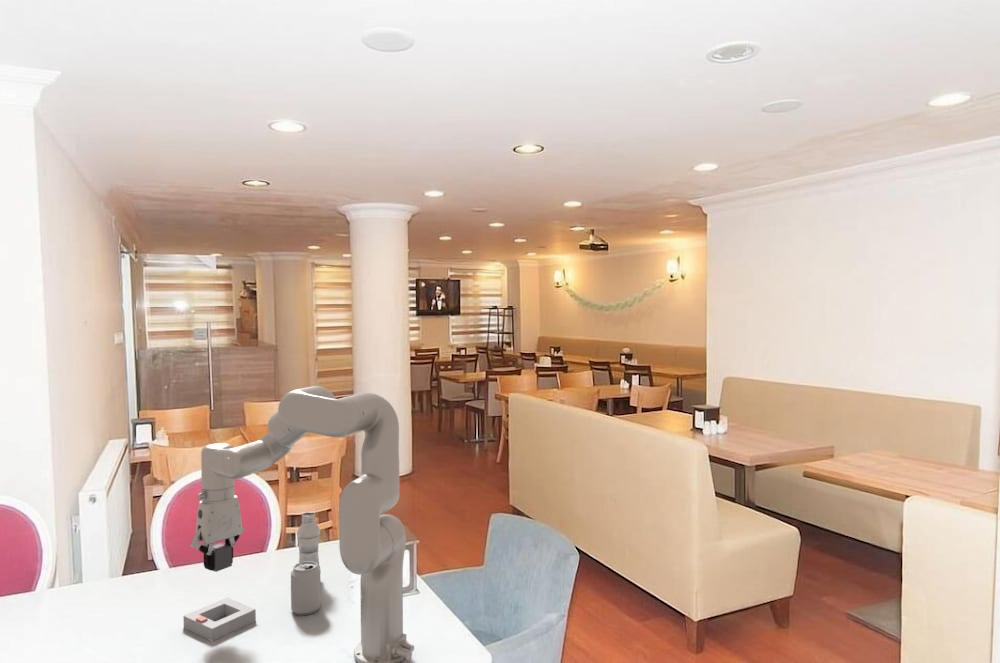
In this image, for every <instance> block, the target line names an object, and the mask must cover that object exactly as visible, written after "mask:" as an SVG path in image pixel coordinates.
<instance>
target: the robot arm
mask: <svg viewBox="0 0 1000 663" xmlns="http://www.w3.org/2000/svg"><path fill="white" fill-rule="evenodd" d="M277 409H278V410H277V411H276V413H274V414H273V415H272V416H270V418H269V419H268V422H267V429H268V432H267V433H266V434H264V435H263V436H261V437H260V438H259V439H258V440H255V441H253V442H249V443H245V444H241V445H239V446H235V447H234V446H233V445H232V444H231V443H227V442H219V443H215V442H214V443H209V444H206V445H205V446H203V448H202V449H201V455H200V456H201V458H200V459H201V460H200V461H201V465H200V466H201V489H200V493H198V494H197V495H196V498H197V499H198V500H200V501H199V503H198V507H197V513H196V521H195V522H196V524H195V535H194V537H193V539H192V540H191V543H190V544H189V545H190V547H192V548H193V549H196V550H198V551H199V552H200V553H202V554H203V567H204V569H206V570H208V571H212V570H214V554H212V550H213V545H215V544H216V543H219V542H222V541H224V544H226V545H229V546H232V564H233V563H234V561H233V559H234V548H235V547H236V543H237V541H238V540H239V538H240V536H241V535H242V534H243V533H244V532H245V530H246V529H245V527H244V526H243V525H242V524H243V523H242V522H243V520H242V512H241V506H240V500H239V498H238V497H239V496H238V495H236V494H235V480H239V479H243V478H245V477H247V476H251V475H253V474H256V473H258V472H261V471H264V470H266V469H269V468H270V467H272V466H273V465H274V464H276V463H277V462H278V461H280V460H281V459H282V458H284V457H285V456H286V455H287V454H288V453H289V452H291V451H292V449H293V447H294V446H295V444H296V443H297V442H299V441H300V440H301V439H303V438H304V437H305V436H306V435H307V434H309V433H311V434H315V435H321V436H325V437H330V438H341V439H342V438H346V437H350V436H351V435H352V436H353V435H355V434H358V433H361V432H364V439H363V441H362V442H363V443H362V447H361V451H360V456H361V458H360V459H361V463H360V464H361V466H360V467H361V468H360V476H359V477H357V478H356V479H355V478H354V480H352V481H350V482H349V483H348V484H347V485H346V486H345V487H344V488H343V490H342V492H341V494H340V496H339V497H340V498H339V503H338V528H339V529H338V535H339V537H338V538H339V544H338V545H339V547H338V548H339V554H340V558H341V561H342V564H343V565H344V566H345V568H346V569H347V570H348V571H349V572H351V573H352V574H355V575H360V642H358V644H356V646H355V648H354V650H353V657H354V660H355V661H356V662H357V663H401V662H403V661H404V660H406V661H407V660H408V661H409V660H410V659H411V658H412V655H413V652H414V650H415V645H414V644H411V643H409V641H408V640H407V634H406V633H404V622H403V621H404V618H403V617H404V616H403V615H404V614H403V612H404V611H403V608H404V607H403V606H404V605H403V604H404V603H403V600H404V597H403V593H404V591H403V590H404V589H403V586H404V585H403V584H404V583H403V581H404V579H403V576H404V575H403V574H404V572H403V570H404V558H405V553H406V552H405V551H406V546H407V545H406V543H407V534H406V529H405V526H404V524H403V523H402V521H401V520H400V518H398V517H396V516H395V515H392V514H386V512H388V511H390V510H391V509H392V508H393V507H395V505H396V504H397V503H398V501H399V499H400V490H401V489H400V488H401V487H400V486H401V485H400V455H399V454H400V450H399V449H400V448H399V447H400V423H399V419H398V415H397V412H396V410H395V409H394V407H393V405H392V403H390V402H389V401H388V400H387V399H385V398H384V397H382V396H381V395H379V394H377V393H371V392H368V393H367V392H362V393H357V394H353V395H349V396H345V397H340V398H336V397H335V395H334V394H333V392H332V391H331V390H330V389H328V388H326V387H325V386H321V385H314V386H308V387H302V388H297V389H294V390H291V391H289V392H287V393H286V394H285V395H284V396H283V397H282V398H280V401H279V403H278V408H277ZM201 542H202V544H201ZM212 572H213V571H212Z"/></svg>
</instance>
